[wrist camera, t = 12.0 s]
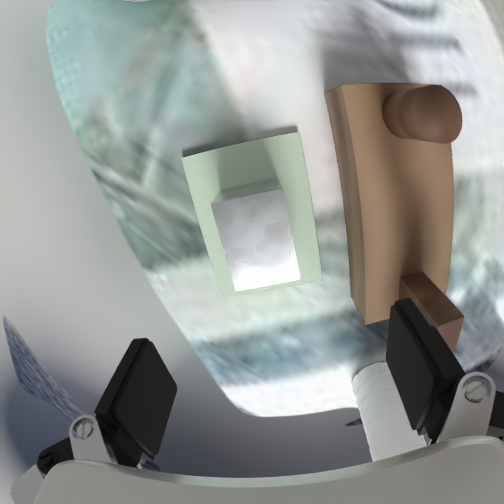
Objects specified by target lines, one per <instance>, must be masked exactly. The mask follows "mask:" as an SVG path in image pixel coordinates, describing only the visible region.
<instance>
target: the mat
mask: <svg viewBox="0 0 504 504" xmlns="http://www.w3.org/2000/svg"><path fill="white" fill-rule="evenodd" d="M182 162H183V166H184V170H185V173H186V177H187V181H188V185H189V188H190V192H191V196H192V199H193V203H194V206H195V210H196V213H197V217H198V220H199V224H200V227H201V231H202V234H203V238H204V241H205V244H206V248H207V251H208V254H209V258H210V261H211V264H212V267H213V271H214V274H215V277H216V280H217V283H218V287H219V290H220V293H221V296H222V299H223V298H229V297H235V296H241V295H247V294H253V293H258V292H264V291H269V290H275V289H280V288H286V287H291V286H296V285H301V284H306V283H311V282H316V281H321V280H322V273H321V265H320V257H319V249H318V241H317V234H316V227H315V220H314V214H313V207H312V201H311V195H310V189H309V183H308V177H307V172H306V166H305V161H304V156H303V151H302V146H301V141H300V136H299V132H295V133H289V134H283V135H278V136H272V137H267V138H262V139H257V140H252V141H247V142H243V143H238V144H234V145H230V146H225V147H221V148H217V149H213V150H209V151H205V152H202V153H198V154H194V155H191V156H187V157H183V158H182ZM277 177H278V179H279V181H280V183H281V185H282V187H283V191H284V196H285V201H286V206H287V211H288V216H289V221H290V226H291V231H292V237H293V242H294V247H295V253H296V259H297V264H298V270H299V276H300V279H298V280H293V281H288V282H283V283H278V284H273V285H268V286H262V287H257V288H252V289H246V290H241V291H235V287H234V284H233V281H232V277H231V274H230V271H229V267H228V264H227V260H226V257H225V254H224V250H223V247H222V243H221V240H220V236H219V233H218V229H217V226H216V222H215V219H214V215H213V212H212V208H211V203H212V201H213V200H214V198H215V197H216V195H217V194H218V192H219V191H220V190H223V189H227V188H231V187H236V186H240V185H244V184H249V183H253V182H258V181H263V180H267V179H272V178H277Z"/></svg>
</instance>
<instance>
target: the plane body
mask: <svg viewBox="0 0 504 504" xmlns="http://www.w3.org/2000/svg"><path fill="white" fill-rule="evenodd" d="M325 98H326V103H327V108H328V112H329V117H330V122H331V127H332V132H333V138H334V143H335V149H336V155H337V161H338V167H339V174H340V181H341V188H342V195H343V203H344V212H345V221H346V231H347V241H348V253H349V268H350V285H351V297H352V299H353V301H354V303H355V305H356V307H357V309H358V311H359V313H360V315H361V317H362V319H363V321H364V323H365V325H367V324H371V323H375V322H378V321H382V320H386V319H390V308H391V306H392V305H394V303H395V301H396V300H400V299H404V298H408V297H409V298H411V299H412V301H413V302H414V303H415V305H416V306H417V308H418V309H419V310H420V312H421V313H422V315H423V316H424V318H425V319H426V321H427V322H428V323H429V325H430V326H434V327H435V328H436V329H437V330H438V331H439V333H440V334H441V336H442V337H443V339H444V340H445V342H446V343H447V345H448V347H449V348H450V350H451V351H452V353H454V351H455V348H456V345H457V341H458V338H459V335H460V331H461V327H462V324H463V320H464V316H463V314H462V313H461V312H460V311H459V310H458V309H457V308H456V306H455V305H454V304H453V303H452V302H451V301H450V300H449V299H448V298H447V297H446V291H447V284H448V277H449V269H450V260H451V250H452V237H453V215H454V184H453V162H452V149H451V142H453V141H454V140H455V139H456V138H457V137H458V135H459V133H460V131H461V128H462V113H461V109H460V106H459V103H458V101H457V100H456V98H455V97H454V95H453V94H452V93H451V92H450V91H449V90H448V89H446V88H445V87H443V86H442V85H432V84H413V83H368V84H348V85H340V86H338V87H336V88H335V89H333V90H331V91H329V92H328V93H326V94H325Z"/></svg>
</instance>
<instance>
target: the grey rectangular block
mask: <svg viewBox="0 0 504 504" xmlns="http://www.w3.org/2000/svg"><path fill="white" fill-rule="evenodd" d="M211 208H212V212H213V215H214V219H215V222H216V226H217V229H218V233H219V236H220V240H221V243H222V247H223V250H224V254H225V257H226V260H227V264H228V267H229V271H230V274H231V277H232V281H233V284H234V287H235V291H241V290H246V289H252V288H257V287H262V286H268V285H273V284H278V283H283V282H288V281H293V280H298V279H300V276H299V270H298V264H297V259H296V253H295V247H294V242H293V237H292V231H291V226H290V221H289V216H288V211H287V206H286V201H285V196H284V191H283V187H282V185H281V183H280V181H279V179H278V177H277V178H272V179H267V180H263V181H258V182H253V183H249V184H244V185H240V186H236V187H231V188H227V189H223V190H220V191H219V192H218V194H217V195H216V197H215V198H214V200H213V201H212V203H211Z"/></svg>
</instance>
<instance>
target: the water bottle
mask: <svg viewBox="0 0 504 504" xmlns="http://www.w3.org/2000/svg"><path fill="white" fill-rule="evenodd" d="M352 388H353V392H354V395H355V398H356V401H357V405H358V408H359V410H360V415H361V419H362V422H363V425H364V430H365V432H366V437H367V441H368V444H369V445H370V447H369V448H370V453H371V456H372V459H373V462H374V461H378V460H382V459H386V458H389V457H393V456H396V455H400V454H403V453H406V452H409V451H412V450H416V449H419V448H422V447H426V446H427V445H426V442H425V440H424V436H423V435H420V436H418V433H417V430H412V428H411V426H410V423H409V420H408V417H407V414H406V411H405V409H404V406H403V403H402V401H401V398H400V395H399V393H398V390H397V387H396V385H395V382H394V380H393V377H392V375H391V372H390V370H389V367H388V365H387V362H384V363H382V362H378V363H374V364H371V365H370V366H367V367H365V368H363V369H362V370H360V371H359V373H358V374H356V375H355V377H354V378H353V381H352Z"/></svg>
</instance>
